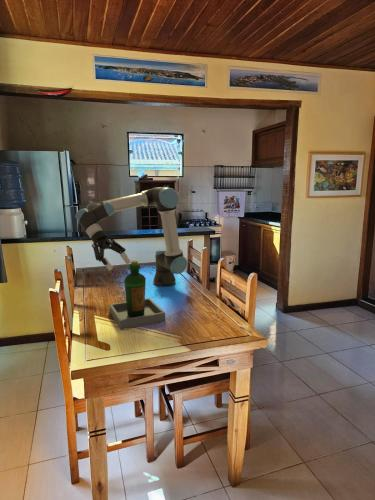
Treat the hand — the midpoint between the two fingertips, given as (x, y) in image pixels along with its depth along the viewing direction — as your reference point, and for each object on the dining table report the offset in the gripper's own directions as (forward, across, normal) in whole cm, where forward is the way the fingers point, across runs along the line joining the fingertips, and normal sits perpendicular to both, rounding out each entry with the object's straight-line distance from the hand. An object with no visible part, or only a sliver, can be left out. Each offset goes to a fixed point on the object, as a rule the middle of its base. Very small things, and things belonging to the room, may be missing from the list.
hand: (120, 266), depth 161 cm
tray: (+24, 0, -12) cm, 27 cm away
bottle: (+24, 0, -11) cm, 26 cm away
